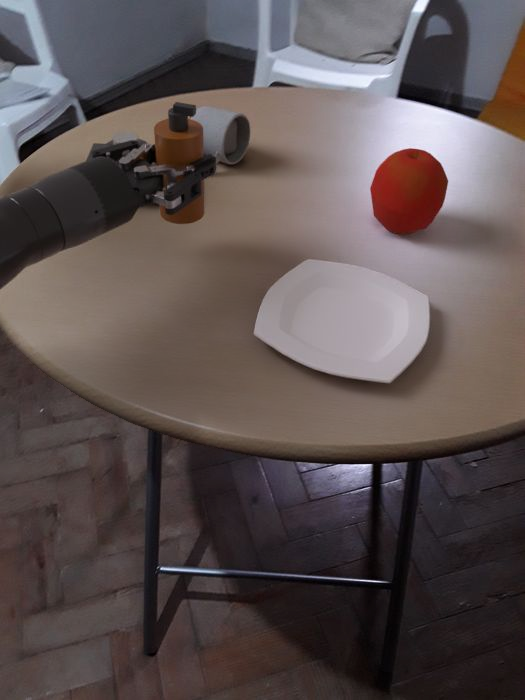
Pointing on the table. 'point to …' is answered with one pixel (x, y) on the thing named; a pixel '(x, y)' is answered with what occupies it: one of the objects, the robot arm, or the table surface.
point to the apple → (408, 191)
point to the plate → (345, 320)
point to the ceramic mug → (223, 133)
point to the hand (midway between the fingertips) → (195, 154)
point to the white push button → (124, 138)
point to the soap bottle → (180, 154)
